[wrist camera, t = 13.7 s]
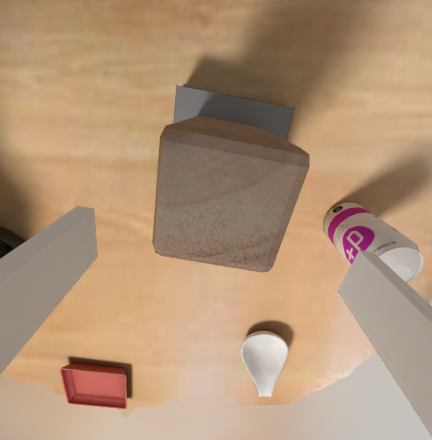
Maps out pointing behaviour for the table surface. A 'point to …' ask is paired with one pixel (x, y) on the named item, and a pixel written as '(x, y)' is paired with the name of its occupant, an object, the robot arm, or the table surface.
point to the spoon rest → (264, 359)
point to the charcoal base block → (232, 110)
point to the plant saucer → (95, 385)
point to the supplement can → (371, 239)
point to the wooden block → (225, 193)
